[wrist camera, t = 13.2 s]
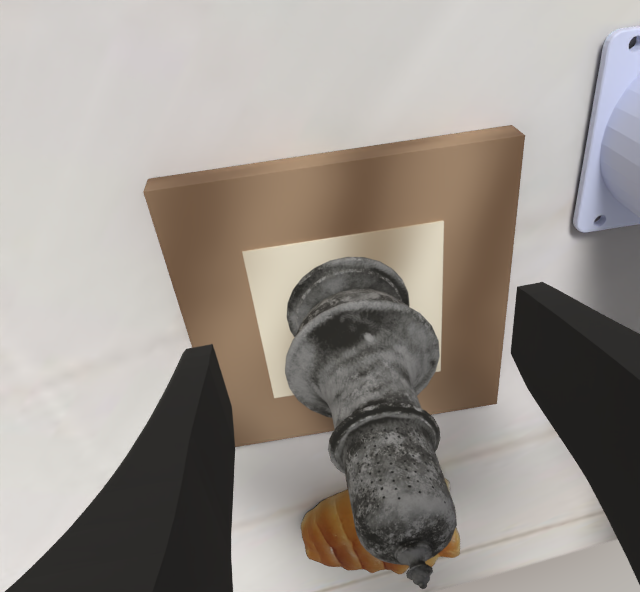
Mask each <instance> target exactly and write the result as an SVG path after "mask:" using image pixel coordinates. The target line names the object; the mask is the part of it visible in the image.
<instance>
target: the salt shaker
mask: <svg viewBox="0 0 640 592" xmlns="http://www.w3.org/2000/svg"><path fill="white" fill-rule="evenodd" d="M409 306H410V305H409V294H408V291H407V289H406V286H405V284H404V282H403V280H402V278H401V277H400V276H399V275H398V274H397V273H396V272H395V271H394V270H393V269H392V268H391V267H389V266H387V265H385V264H384V263H382V262H380V261H377V260H373V259H370V258H366V257H344V258H339V259H334V260H330V261H328V262H326V263H324V264H322V265H319V266H317V267H315V268H314V269H312V270H311V271H310V272H309V273H307V274H306V275H305V276H304V277H302V278H301V280H300V281H299V282H298V284H297V285H296V286H295V288H294V289H293V291H292V293H291V296H290V298H289V301H288V304H287V321H288V324H289V328H290V331H291V333H292V334H293V336H294V337H295V338H294V339H293V340H292V343H291V345H290V348H289V350H288V352H287V355H286V363H285V375H286V378H287V382H288V385H289V388H290V390H291V391H292V393H293V394H294V395H295V397H296V398H297V400H298V401H299V402H301V403H302V404H303V405H305V406H306V407H307V408H309V409H310V410H311V411H314V412H316V413H319V414H321V415H324V416H326V417H330V418H333V424H334V429H335V430H334V432H333V433H332V435H331V437H330V440H329V448H328V450H329V454H330V458H331V461H332V462H333V464H334V465H335V466H336V468H337V469H338V470H340V471H341V472H343V473H344V474H345V476H346V481H347V487H348V492H349V497H350V503H351V508H352V514H353V519H354V524H355V529H356V533H357V536H358V538H359V541H360V543H361V545H362V546H363V547H364V548H365V550H366V551H368V552H369V553H370V554H371V555H372V556H374V557H375V558H377V559H379V560H381V561H384V562H388V563H392V564H399V565H408V566H409V567H410V569H409V570H408V571H407V573H406V574H407V578H409V579H411V580H413V582H414V583H415V584H417V585H419V586H420V588H422V589H425V588H426V587H427V583H428V582H429V580H430V577H429V576H430V575H431V574H432V572H433V570H432V567H430V566H429V565H427V564H426V563H425V561H427V560H429V559H431V558H433V557H434V556H436V555H437V554H438V553H439V552H441V551H442V550H443V549H444V548H445V547H446V546H447V545H448V544H449V543H450V541H451V539H452V536H453V534H454V531H455V528H456V525H457V523H456V513H455V506H454V504H453V501H452V498H451V495H450V493H449V490H448V487H447V484H446V482H445V479H444V476H443V473H442V470H441V468H440V465H439V462H438V459H437V457H436V454H435V451H436V450H437V448H438V444H439V441H440V430H439V427H438V425H437V423H436V421H435V419H434V418H433V417H432V416H431V415H430V414H429V413H428V412H427V411H425V410H423V409H422V408H421V406H420V403H419V400H418V397H417V395H418V394H419V393H420V392H421V391H422V390H423V389H424V388H425V387H426V386H427V385H428V383H429V382H430V380H431V378H432V377H433V375H434V373H435V372H436V368H437V364H438V361H439V357H440V354H439V341H438V339H437V336H436V334H435V332H434V329H433V327H432V325H431V324H430V323H429V322H428V321H427V320H426V319H425V318H424V317H423V316H422V315H421V314H420V313H419V312H417V311H415V310H414V309H412V308H410V307H409Z"/></svg>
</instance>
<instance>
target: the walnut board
mask: <svg viewBox="0 0 640 592" xmlns="http://www.w3.org/2000/svg"><path fill="white" fill-rule="evenodd" d="M524 140H525V135H524V134H523V133H521V132H520V131H519V130H517V129H516V128H515V127H514V126H512V125H510V126H503V127H496V128H489V129H483V130H476V131H469V132H462V133H456V134H449V135H442V136H435V137H428V138H422V139H415V140H408V141H401V142H395V143H388V144H381V145H374V146H368V147H361V148H354V149H347V150H341V151H334V152H327V153H320V154H314V155H307V156H300V157H293V158H287V159H280V160H273V161H266V162H259V163H253V164H246V165H239V166H232V167H226V168H219V169H212V170H205V171H199V172H192V173H185V174H178V175H172V176H165V177H158V178H151V179H148V180H147V183H146V186H145V189H144V195H145V199H146V202H147V205H148V208H149V211H150V215H151V218H152V221H153V224H154V227H155V230H156V234H157V237H158V240H159V243H160V246H161V249H162V253H163V256H164V259H165V262H166V265H167V269H168V272H169V275H170V278H171V281H172V284H173V288H174V291H175V294H176V297H177V300H178V303H179V307H180V310H181V313H182V316H183V319H184V323H185V326H186V329H187V332H188V335H189V338H190V342H191V345H192V348H194V347H199V346H205V345H210V344H213V347H214V350H215V353H216V356H217V360H218V363H219V366H220V369H221V373H222V376H223V379H224V382H225V386H226V389H227V392H228V395H229V399H230V402H231V405H232V413H233V425H234V439H235V447H238V446H244V445H250V444H256V443H262V442H268V441H274V440H280V439H287V438H293V437H299V436H305V435H311V434H317V433H323V432H329V431H334V430H335V429H334V424H333V418H330V417H326V416H324V415H321V414H319V413H316V412H314V411H311V410H310V409H309V408H307V407H306V406H305V405H303V404H302V403H301V402H299V401H298V400H297V398H296V397H295V395H294V394H293V393H292V391H291V390H290V388H289V385H288V382H287V378H286V375H285V363H286V355H287V352H288V350H289V348H290V345H291V343H292V340H293V339H294V338H295V337H294V336H293V334H292V333H291V331H290V328H289V324H288V321H287V304H288V301H289V298H290V296H291V293H292V291H293V289H294V288H295V286H296V285H297V284H298V282H299V281H300V280H301V278H302V277H304V276H305V275H306V274H307V273H309V272H310V271H311V270H312V269H314V268H315V267H317V266H319V265H322V264H324V263H326V262H328V261H330V260H334V259H339V258H344V257H366V258H370V259H373V260H377V261H380V262H382V263H384V264H385V265H387V266H389V267H391V268H392V269H393V270H394V271H395V272H396V273H397V274H398V275H399V276H400V277H401V278H402V280H403V282H404V284H405V286H406V289H407V291H408V294H409V305H410V306H409V307H410V308H412V309H414V310H415V311H417V312H419V313H420V314H421V315H422V316H423V317H424V318H425V319H426V320H427V321H428V322H429V323H430V324H431V325H432V327H433V329H434V332H435V334H436V336H437V339H438V341H439V354H440V357H439V361H438V364H437V368H436V372H435V373H434V375H433V377H432V378H431V380H430V382H429V383H428V385H427V386H426V387H425V388H424V389H423V390H422V391H421V392H420V393H419V394H418V395H417V397H418V400H419V403H420V406H421V408H422V409H423V410H425V411H427V412H428V413H429V414H430V415H432V414H438V413H444V412H450V411H456V410H462V409H468V408H474V407H480V406H486V405H493V404H497V396H498V387H499V377H500V368H501V358H502V349H503V339H504V330H505V320H506V311H507V301H508V292H509V282H510V273H511V263H512V254H513V244H514V235H515V225H516V216H517V206H518V197H519V187H520V178H521V168H522V159H523V149H524Z"/></svg>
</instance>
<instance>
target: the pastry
mask: <svg viewBox="0 0 640 592" xmlns="http://www.w3.org/2000/svg"><path fill="white" fill-rule="evenodd" d="M444 479H445V478H444ZM445 482H446V484H447V487H448V490H449V493H450V482H449V481H448V480H447V479H445ZM301 530H302V538H303V541H304V544H305V549H306V554H307V556H308V558H309V559H312V560H314V561H317V562H320V563H322V564H324V565H327V566H331V567H340V566H341V567H343V568H344V569H346V570H358V569H365V570H367V571H369V572H370V573H374V572H376V571H379V570H385V569H386V570H392V571H393V572H395V573H397V574H402V573H404V572H405V571H406V570H407V569H408V567H409V566H408V565H399V564H392V563H388V562H384V561H381V560H379V559H377V558H375V557H374V556H372V555H371V554H370V553H369V552H368V551H366V550H365V548H364V547H363V546H362V545H361V543H360V541H359V538H358V536H357V533H356V529H355V524H354V519H353V514H352V508H351V503H350V497H349V492H348V490H345V491H343V492H340V493H338V494H336V495H333V496H331V497H329V498H327V499H325V500H323V501H321V502H320V503H319V504H318V505H317V506H316V507H315V508H314V509H312V510H311V511H309V512H307V513H306V515H305V517H304V519H303V521H302V523H301ZM459 554H460V536H459V533H458V531H457V528H455V531H454V534H453V536H452V539H451V541H450V543H449V544H448V545H447V546H446V547H445V548H444V549H443V550H442V551H441V552H439V553H438V554H437V555H436V556H434V557H433V558H431V559H429V560H427V561H425V563H426V564H427V565H429V566H430V567H432V566H433V565H434V564H435V562H436V560H437V558H438V557H450V558H454V557H456V556H458V555H459Z"/></svg>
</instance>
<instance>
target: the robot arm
mask: <svg viewBox="0 0 640 592" xmlns="http://www.w3.org/2000/svg"><path fill="white" fill-rule="evenodd" d="M635 36H637V41H636V44H635V45H634V46H633V47H632V48H631V49H629V43H630V40H631V39H632V38H633V37H635ZM598 216H601V217H600V219H599V220H598V221H596V222H594V221H595V219H596V218H597V217H598ZM638 224H640V26H634V27H627V28H620V29H617V30H614V31H613V32H611V33H610V34H609V35H608V37H607V38H606V39H605V42H604V45H603V49H602V55H601V61H600V67H599V73H598V79H597V84H596V90H595V96H594V102H593V108H592V114H591V119H590V125H589V131H588V137H587V143H586V149H585V154H584V160H583V166H582V172H581V178H580V184H579V189H578V195H577V201H576V207H575V213H574V219H573V225H574V226H575V228H576V229H577V230H578V231H580V232H584V233H586V232H593V231H599V230H606V229H612V228H619V227H625V226H631V225H638ZM511 354H512V357H513V359H514V361H515V363H516V365H517V367H518V370H519V372H520V374H521V376H522V378H523V380H524V382H525V384H526V386H527V388H528V390H529V391H530V393H531V394H532V396H533V397H534V399H535V401H536V402H537V404H538V405H539V407H540V408H541V410H542V411H543V413H544V414H545V416H546V417H547V419H548V420H549V422H550V423H551V425H552V426H553V428H554V429H555V431H556V432H557V434H558V435H559V437H560V438H561V440H562V441H563V443H564V444H565V446H566V447H567V449H568V450H569V452H570V453H571V455H572V456H573V458H574V459H575V461H576V462H577V464H578V465H579V467H580V469H581V470H582V472H583V474H584V475H585V477H586V478H587V480H588V482H589V484H590V485H591V487H592V489H593V491H594V493H595V495H596V497H597V499H598V501H599V503H600V505H601V506H602V508H603V510H604V512H605V514H606V516H607V518H608V520H609V522H610V524H611V526H612V528H613V530H614V532H615V534H616V536H617V538H618V540H619V542H620V544H621V546H622V548H623V550H624V552H625V554H626V556H627V558H628V560H629V563H630V565H631V567H632V569H633V571H634V573H635V576H636V578H637V580H638V582H639V584H640V334H639V333H637V332H635V331H633V330H631V329H629V328H627V327H625V326H623V325H621V324H619V323H617V322H615V321H613V320H612V319H610V318H608V317H606V316H604V315H602V314H600V313H599V312H597V311H595V310H593V309H591V308H590V307H588V306H586V305H584V304H582V303H581V302H579V301H577V300H575V299H573V298H572V297H570V296H568V295H566V294H564V293H563V292H561V291H559V290H557V289H555V288H553V287H551V286H549V285H547V284H545V283H543V282H540V283H535V284H530V285H524V286H519V287H517V294H516V304H515V314H514V325H513V335H512V345H511ZM234 460H235V439H234V425H233V413H232V405H231V402H230V399H229V395H228V392H227V389H226V386H225V382H224V379H223V376H222V373H221V369H220V366H219V363H218V360H217V356H216V353H215V350H214V347H213V344H210V345H205V346H199V347H194V348H189V349H186V350H185V351H184V353H183V354H182V356H181V359H180V361H179V363H178V365H177V367H176V369H175V371H174V374H173V376H172V378H171V380H170V382H169V384H168V386H167V388H166V390H165V392H164V393H163V395H162V397H161V399H160V401H159V403H158V404H157V406H156V408H155V410H154V412H153V414H152V415H151V417H150V419H149V421H148V422H147V424H146V426H145V427H144V429H143V431H142V432H141V434H140V435H139V437H138V439H137V440H136V442H135V443H134V445H133V447H132V448H131V450H130V451H129V453H128V454H127V456H126V457H125V459H124V460H123V462H122V463H121V464H120V466H119V467H118V469H117V470H116V471H115V473H114V474H113V476H112V477H111V478H110V480H109V481H108V482H107V484H106V485H105V486H104V488H103V489H102V490H101V491H100V493H99V494H98V495H97V496H96V498H95V499H94V500H93V501H92V502H91V504H90V505H89V506H88V507H87V508H86V510H85V511H84V512H83V513H82V514H81V515H80V517H79V518H78V519H77V520H76V521H75V522H74V524H73V525H72V526H71V527H70V528H69V529H68V530H67V531H66V533H65V534H64V535H63V536H62V537H61V538H60V539H59V540H58V541H57V542H56V543H55V544H54V545H53V546H52V547H51V548H50V549H49V550H48V551H47V552H46V553H45V554H44V555H43V556H42V557H41V558H40V559H39V560H38V561H37V562H36V563H35V564H34V565H33V566H32V567H31V568H30V569H29V570H28V571H27V572H26V573H25V574H24V575H23V576H22V577H21V578H20V579H18V580H17V581H16V582H15V583H14V584H13V585H12V586H11V587H10V588H8V589H7V590H6V591H5V592H233V584H232V565H231V527H232V505H233V484H234Z"/></svg>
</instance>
